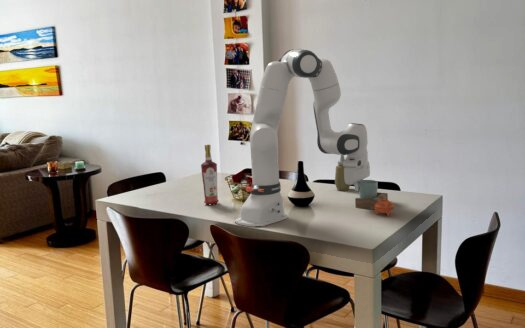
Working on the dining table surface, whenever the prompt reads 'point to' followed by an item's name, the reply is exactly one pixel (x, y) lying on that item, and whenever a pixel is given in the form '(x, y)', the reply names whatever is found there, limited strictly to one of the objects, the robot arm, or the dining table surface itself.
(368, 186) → the cup
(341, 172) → the squeeze bottle
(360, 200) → the dock
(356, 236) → the dining table surface
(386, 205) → the orange rounded figure
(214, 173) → the liquor
